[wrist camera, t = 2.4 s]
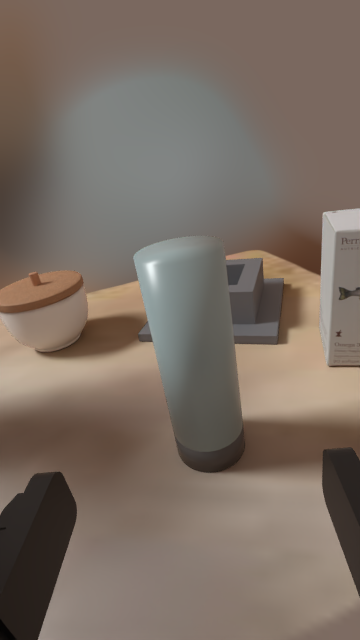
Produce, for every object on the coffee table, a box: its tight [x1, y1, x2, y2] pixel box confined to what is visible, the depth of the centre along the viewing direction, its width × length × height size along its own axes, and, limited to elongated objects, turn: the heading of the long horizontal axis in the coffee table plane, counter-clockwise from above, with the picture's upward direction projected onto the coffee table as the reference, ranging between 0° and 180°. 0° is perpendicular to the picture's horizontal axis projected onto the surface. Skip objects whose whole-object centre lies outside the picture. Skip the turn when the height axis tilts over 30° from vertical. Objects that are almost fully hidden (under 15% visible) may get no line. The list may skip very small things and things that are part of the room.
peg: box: [133, 236, 245, 472], centre depth 22 cm, size 5×5×15 cm
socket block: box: [138, 258, 284, 344], centre depth 44 cm, size 16×16×5 cm
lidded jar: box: [0, 271, 88, 352], centre depth 43 cm, size 11×11×9 cm
